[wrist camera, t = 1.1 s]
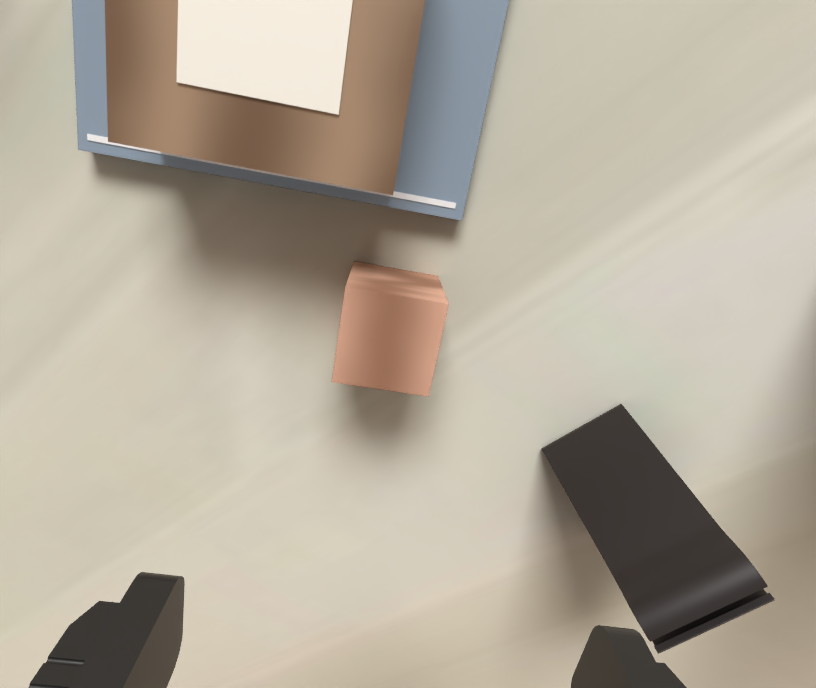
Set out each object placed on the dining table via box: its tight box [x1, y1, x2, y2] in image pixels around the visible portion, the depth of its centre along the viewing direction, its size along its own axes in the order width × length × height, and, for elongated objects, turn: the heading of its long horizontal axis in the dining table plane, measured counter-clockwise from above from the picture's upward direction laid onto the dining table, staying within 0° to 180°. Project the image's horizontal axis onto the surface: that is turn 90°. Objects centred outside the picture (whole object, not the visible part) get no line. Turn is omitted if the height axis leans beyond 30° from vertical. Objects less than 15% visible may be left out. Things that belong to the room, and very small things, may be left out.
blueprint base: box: [72, 0, 509, 220], centre depth 22 cm, size 20×14×6 cm
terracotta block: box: [332, 262, 449, 396], centre depth 28 cm, size 5×5×6 cm
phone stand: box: [542, 404, 774, 654], centre depth 29 cm, size 9×6×12 cm, turn 34°
